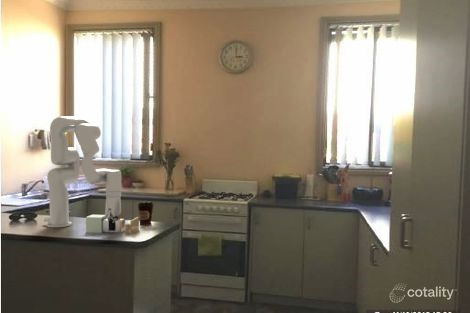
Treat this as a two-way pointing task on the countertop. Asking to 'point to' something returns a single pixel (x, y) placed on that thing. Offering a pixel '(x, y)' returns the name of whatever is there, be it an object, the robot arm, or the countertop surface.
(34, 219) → the countertop surface
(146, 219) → the coffee cup
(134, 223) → the beige block
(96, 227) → the pale green cube
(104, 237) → the countertop surface
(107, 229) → the white rectangular block
